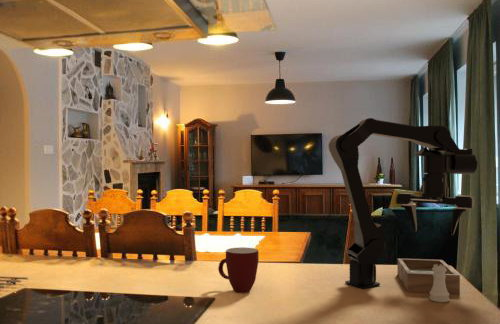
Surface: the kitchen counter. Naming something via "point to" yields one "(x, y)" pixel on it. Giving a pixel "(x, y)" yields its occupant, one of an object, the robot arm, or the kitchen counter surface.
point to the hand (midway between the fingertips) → (433, 232)
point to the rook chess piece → (439, 285)
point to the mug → (240, 268)
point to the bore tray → (425, 275)
